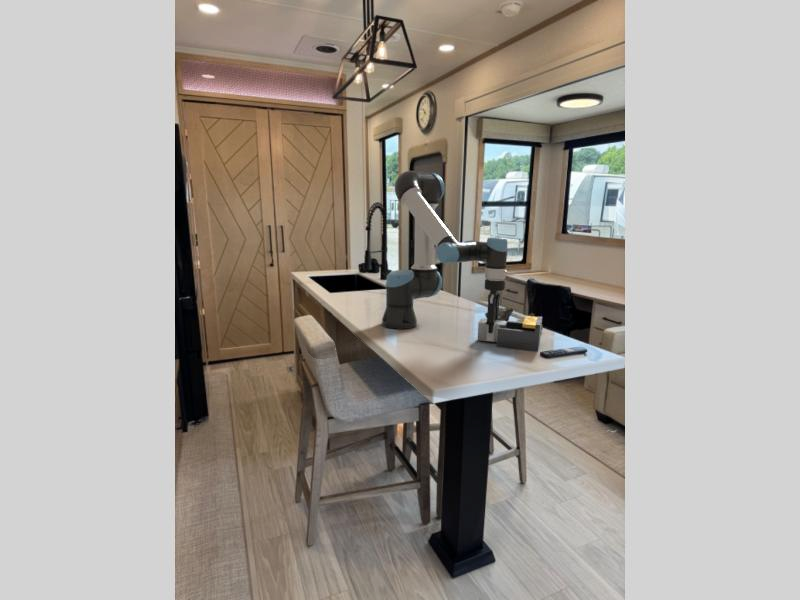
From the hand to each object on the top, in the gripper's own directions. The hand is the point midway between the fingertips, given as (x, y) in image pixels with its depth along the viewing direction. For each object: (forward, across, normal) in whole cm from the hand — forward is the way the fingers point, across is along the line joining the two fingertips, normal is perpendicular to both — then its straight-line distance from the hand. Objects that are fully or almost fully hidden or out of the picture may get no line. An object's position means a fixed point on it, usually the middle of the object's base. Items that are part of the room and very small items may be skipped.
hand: (491, 338), depth 169 cm
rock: (+1, +32, +2) cm, 33 cm away
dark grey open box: (+1, 0, -10) cm, 10 cm away
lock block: (0, 0, 0) cm, 1 cm away
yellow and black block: (+2, +21, -12) cm, 24 cm away
